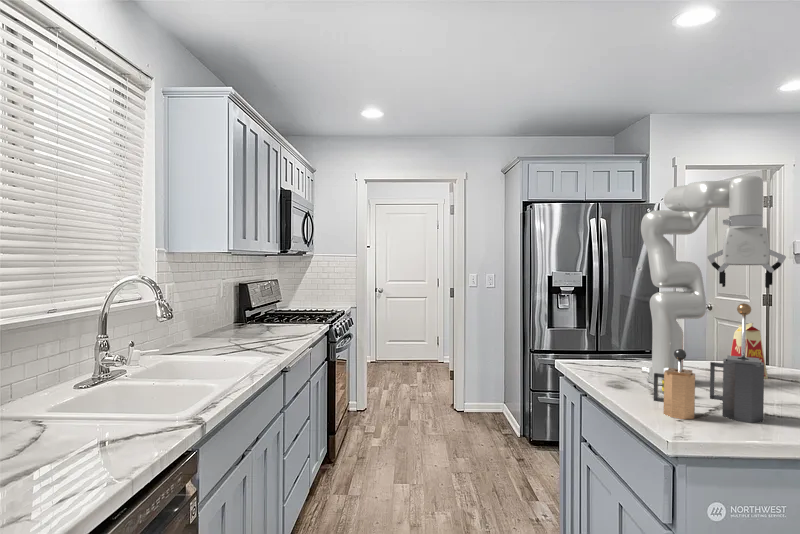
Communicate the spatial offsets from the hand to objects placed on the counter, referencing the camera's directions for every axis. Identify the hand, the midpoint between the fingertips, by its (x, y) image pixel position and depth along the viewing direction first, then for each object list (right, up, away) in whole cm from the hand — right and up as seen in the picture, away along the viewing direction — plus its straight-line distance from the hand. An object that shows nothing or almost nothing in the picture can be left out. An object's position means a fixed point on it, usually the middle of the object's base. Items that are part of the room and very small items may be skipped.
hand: (745, 287), depth 136 cm
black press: (-2, -35, +1) cm, 35 cm away
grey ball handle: (-16, -35, +2) cm, 38 cm away
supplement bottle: (-8, -35, +22) cm, 42 cm away
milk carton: (+36, -35, +52) cm, 72 cm away
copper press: (-18, -35, +3) cm, 39 cm away
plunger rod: (0, -26, +1) cm, 26 cm away
